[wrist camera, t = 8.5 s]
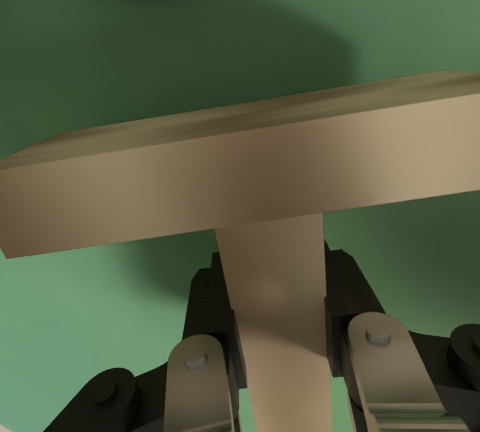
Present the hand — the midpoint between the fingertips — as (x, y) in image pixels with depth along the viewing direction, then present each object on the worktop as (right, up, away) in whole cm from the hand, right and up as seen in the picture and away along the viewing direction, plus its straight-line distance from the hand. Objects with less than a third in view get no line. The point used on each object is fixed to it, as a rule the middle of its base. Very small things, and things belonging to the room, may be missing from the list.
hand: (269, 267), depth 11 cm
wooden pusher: (0, 0, +2) cm, 2 cm away
